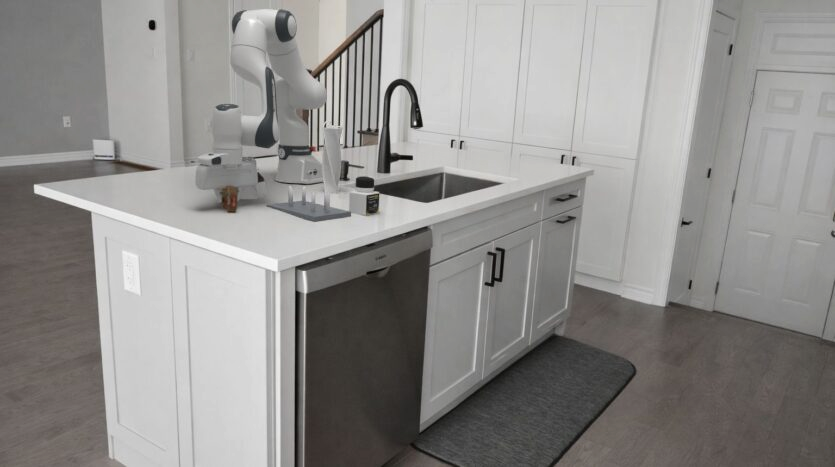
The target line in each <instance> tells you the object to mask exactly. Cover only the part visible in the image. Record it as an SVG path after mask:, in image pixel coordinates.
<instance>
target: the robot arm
mask: <svg viewBox="0 0 835 467" xmlns="http://www.w3.org/2000/svg"><path fill="white" fill-rule="evenodd" d="M297 27H298V26H297V20H296V17H295V15H293V13H291V11H290V10H286V9H282V8H281V9H275V8H274V9H271V8H261V9H251V10H247V9H246V10H244V9H243V10H239V11H238V12H236V13H235V14H234V15H233V17H232V19H231V30H232V33H233V37H232V41H231V49H230V53H229V54H230V55H229V58H230V59H229V60H230V66H231V69H232V70H233V71H234V72H235V74H236V75H238V77H240V78H242V79H243V80H245V81H247V82H250V83H252V84H254V85H256V86H258V88H259V89H260V94H261V95H260V96H261V97H260V98H261V114H260V115H245V114H242V113H241V112H242V111H241V107H240V106H239V105H238V104H235V103H224V104H223V103H221V104H218V105H216V106H214V108H213V114H212V122H211V124H212V125H211V130H212V131H211V134H212V137H213V144H212V150H211V151H209V152H207V153H204V154H201V155H200V156H197V159H196V161H197V163H198V165H197V167H196V169H195V187H196V188H197V189H198V190H202V191H205V190H206V191H207V190H213V192H214V194H215V195H216V197H217V203H218V204H221V203H224V202H225V197H222V195H221V193H220V192H222V188H227V186H234V187H235V188H236V189H237V195H238V196H237V202H239V201H240V200H239V195H240V193H241V191H242V187H245V186H255V185H256V184H257V183H258V175H257V169H256V167H257V160H256V159H255V158H254V157H253V156H243V146H244V147H246V146H247V147H257V148H261V149H270V148H272V147H273V146H275V145H276V144H277V143H278V142H279V143H278V148H277V154H278V163H277V164H278V165H277V171H276V174H275V175H276V176H275V179H274V181H276V182H280V183H286V184H287V183H289V184H306V185H309V184H316V183H323V174H322V162H321V161H320V160H319V159H317V158H316V157H315V156H314V155H313V154H312V152H314V153H316V152H317V147H316V146H312V145H311V146H310V145H309V125H308V124H307V122H306V121H305V120H303V119H302V118H300V117H299V116H298V114H297V110H307V111H308V110H310V111H311V110H316V109H322V108H323V106H324V105H325V104H326V101H327V98H328V93H327V88H326V87H325V85H324V84H323V83H322V82H320V81H318V80H317V79H315V78H314V76H312V75H311V74H310V72H309V71H308V70H307V68H306V67H305V65H304V63H303V61H302V58H301V56H300V55H301V54H300V52H299V48H298V44H297V41H296V37H295V36H296V35H297ZM267 57H268V60H269V64H270V66H271V68H270V67H269V66H268V64H267ZM275 74H276V75H277V76H278V77H280V78H275Z"/></svg>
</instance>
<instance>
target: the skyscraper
mask: <svg viewBox="0 0 835 467" xmlns="http://www.w3.org/2000/svg"><path fill="white" fill-rule="evenodd" d="M327 123H329V125H328V127H325V124H327ZM342 133H343V126H342V125H338V126H337V125H332V120H326V121H325V122H324V123H323V125H322V134H323V135H322V136H323V140H324V144H323V149H322V157H321V158H322V159H321V164H322V174H323V182H322V184H323V192H324V191H328V193H329V194H335V195H336V194H339V191H338V190H339V189H338V188H339V184H340V178H341V172H342V171H341V170H342V151H341V150H342V149H341V144H340V140H341V138H342Z"/></svg>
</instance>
